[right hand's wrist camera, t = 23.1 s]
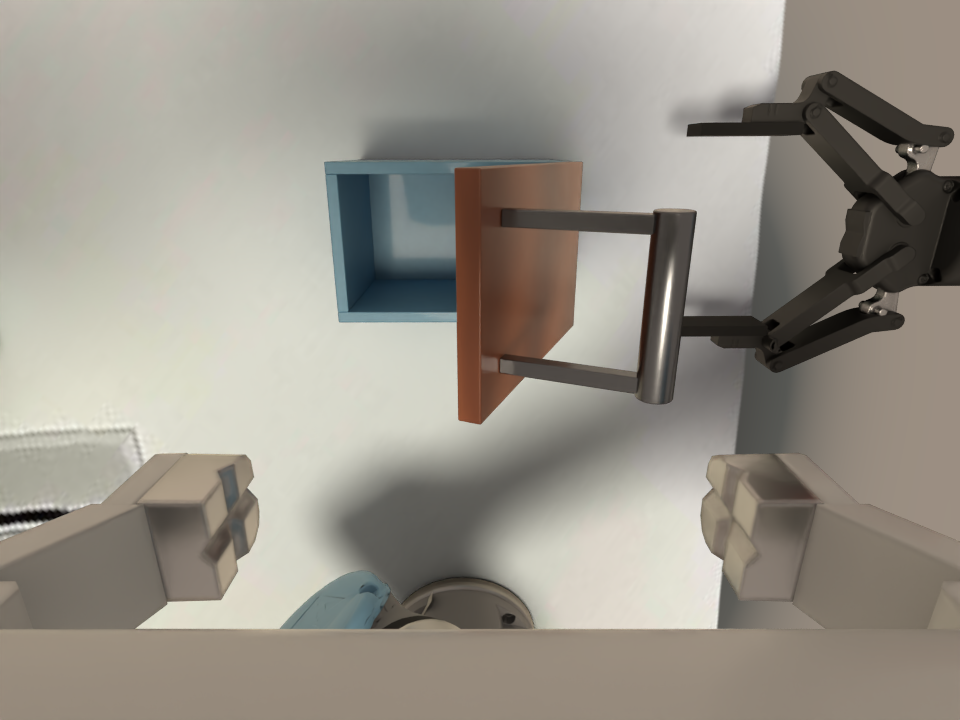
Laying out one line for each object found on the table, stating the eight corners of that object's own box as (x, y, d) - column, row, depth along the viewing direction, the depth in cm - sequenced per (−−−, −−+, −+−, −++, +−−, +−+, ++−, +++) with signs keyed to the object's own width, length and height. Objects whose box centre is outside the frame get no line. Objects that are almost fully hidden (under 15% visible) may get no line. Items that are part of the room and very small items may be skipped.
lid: (457, 420, 24) (662, 459, 20) (453, 167, 20) (698, 169, 17) (557, 323, 37) (690, 339, 34) (565, 161, 33) (714, 162, 30)
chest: (369, 285, 47) (338, 322, 37) (360, 159, 44) (323, 161, 34) (546, 285, 47) (564, 322, 37) (551, 159, 44) (572, 161, 34)
